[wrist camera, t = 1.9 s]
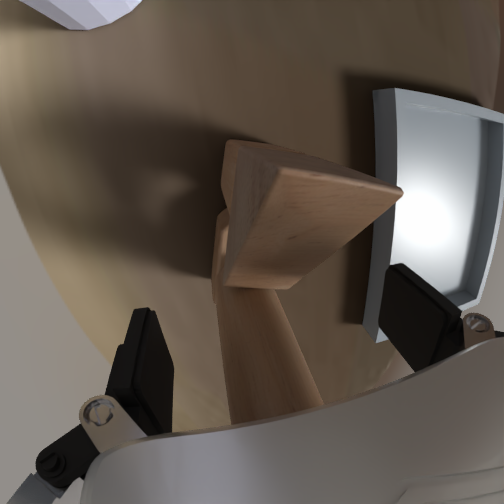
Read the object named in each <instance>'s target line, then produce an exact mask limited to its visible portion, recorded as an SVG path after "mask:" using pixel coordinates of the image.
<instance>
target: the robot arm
mask: <svg viewBox="0 0 504 504" xmlns="http://www.w3.org/2000/svg"><path fill="white" fill-rule="evenodd" d="M461 313H462V310H460V309H459V308H458V307H457V306H456V305H455V304H453V303H452V302H451V301H450V300H449V299H447V298H446V297H445V296H444V295H443V294H441V293H440V292H439V291H438V290H437V289H435V288H434V287H433V286H432V285H430V284H429V283H428V282H427V281H425V280H424V279H423V278H422V277H420V276H419V275H418V274H416V273H415V272H414V271H413V270H411V269H410V268H409V267H407V266H406V265H405V264H403V263H397V264H393V265H390V266H389V267H388V269H387V270H386V272H385V278H384V286H383V293H382V299H381V306H380V312H379V318H378V325H379V328H380V329H381V330H382V332H383V333H384V334H385V335H386V336H387V338H388V339H389V340H390V341H391V343H392V344H393V345H394V346H395V348H396V349H397V350H398V351H399V353H400V354H401V355H402V356H403V358H404V359H405V360H406V361H407V363H408V364H409V365H410V367H411V368H412V369H413V370H414V372H415V373H413V374H410V375H408V376H406V377H403V378H401V379H398V380H396V381H393V382H390V383H388V384H385V385H383V386H380V387H377V388H374V389H372V390H369V391H366V392H363V393H360V394H357V395H354V396H351V397H348V398H345V399H341V400H338V401H335V402H332V403H328V404H325V405H321V406H317V407H314V408H310V409H306V410H302V411H298V412H294V413H290V414H286V415H281V416H277V417H272V418H267V419H262V420H257V421H251V422H245V423H239V424H233V425H227V426H221V427H214V428H206V429H198V430H189V431H181V432H174V433H172V408H173V381H174V365H173V361H172V358H171V356H170V353H169V350H168V347H167V345H166V342H165V339H164V336H163V333H162V330H161V327H160V324H159V321H158V318H157V315H156V312H155V311H154V310H153V311H151V310H150V309H149V308H148V307H147V308H139V309H134V311H133V314H132V317H131V320H130V324H129V327H128V330H127V334H126V337H125V341H124V344H120V345H119V346H118V348H117V351H116V355H115V358H114V362H113V365H112V369H111V373H110V376H109V380H108V384H107V388H106V392H105V395H99V396H95V397H92V398H90V399H89V400H87V401H86V402H85V403H84V404H83V405H82V407H81V409H80V412H79V420H80V422H81V424H79V425H78V426H77V427H75V428H74V429H72V430H71V431H70V432H68V433H66V434H65V435H64V436H62V437H61V438H59V439H58V440H56V441H55V442H53V443H52V444H50V445H49V446H48V447H46V448H45V449H43V450H42V451H41V452H40V453H39V455H38V457H37V459H36V470H37V472H36V473H35V474H34V475H33V474H32V473H31V474H30V475H29V476H28V477H27V478H26V480H25V481H24V482H23V483H22V484H21V486H20V487H19V488H18V489H17V491H16V492H15V493H14V495H13V496H12V497H11V498H10V499H9V501H8V502H7V504H504V332H500V331H494V327H493V324H492V322H491V321H490V319H489V318H487V317H486V316H484V315H482V314H479V313H469V314H467V315H465V316H464V318H463V319H461V318H460V316H461Z"/></svg>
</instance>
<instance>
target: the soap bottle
mask: <svg viewBox="0 0 504 504" xmlns="http://www.w3.org/2000/svg"><path fill="white" fill-rule="evenodd" d="M19 1H21V2H23V3H25V4H27V5H28V6H30V7H32V8H34V9H35V10H37V11H39V12H40V13H42V14H44V15H46V16H47V17H49V18H51V19H52V20H54V21H55V22H57V23H59V24H61V25H62V26H64V27H66V28H68V29H69V30H90V29H93V28H96V27H100V26H103V25H106V24H110V23H112V22H114V21H115V20H117V19H119V18H120V17H122V16H124V15H125V14H127V13H129V12H131V11H132V10H133V9H134V8H135V7H136V6H137V5H138V4H139V3H140V2H141V1H142V0H19Z"/></svg>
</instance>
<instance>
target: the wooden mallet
mask: <svg viewBox="0 0 504 504" xmlns="http://www.w3.org/2000/svg"><path fill="white" fill-rule="evenodd" d="M221 189H222V192H223V195H224V199H225V202H226V205H227V208H226V209H224V210H223V211H222V212H221V213H220V214H219V215H218V217H217V222H216V232H215V242H214V253H213V264H212V276H211V282H212V294H213V301H214V303H215V304H216V306H217V316H218V325H219V334H220V343H221V351H222V360H223V368H224V375H225V383H226V391H227V398H228V405H229V412H230V419H231V425H233V424H239V423H245V422H251V421H257V420H262V419H267V418H272V417H277V416H281V415H286V414H290V413H294V412H298V411H302V410H306V409H310V408H314V407H317V406H321V405H324V404H323V401H322V399H321V396H320V394H319V392H318V389H317V387H316V385H315V382H314V380H313V378H312V375H311V373H310V371H309V368H308V366H307V364H306V361H305V359H304V357H303V354H302V352H301V350H300V347H299V345H298V343H297V341H296V338H295V336H294V334H293V331H292V329H291V327H290V324H289V322H288V320H287V317H286V315H285V313H284V310H283V308H282V306H281V303H280V301H279V299H278V297H277V294H276V292H275V290H274V289H288V288H290V287H291V286H292V285H294V284H295V283H296V282H298V281H299V280H300V279H302V278H303V277H304V276H305V275H307V274H308V273H309V272H311V271H312V270H313V269H315V268H316V267H317V266H318V265H320V264H321V263H322V262H324V261H325V260H326V259H327V258H329V257H330V256H331V255H332V254H334V253H335V252H336V251H337V250H339V249H340V248H341V247H342V246H344V245H345V244H346V243H347V242H349V241H350V240H351V239H352V238H354V237H355V236H356V235H357V234H358V233H360V232H361V231H362V230H363V229H365V228H366V227H367V226H368V225H369V224H371V223H372V222H373V221H374V220H375V219H377V218H378V217H379V216H380V215H381V214H383V213H384V212H385V211H386V210H387V209H388V208H390V207H391V206H392V205H393V204H394V203H396V202H397V201H398V200H399V199H400V198H401V197H402V196H403V194H404V192H403V190H402V189H401V188H400V187H398V186H395V185H393V184H390V183H388V182H385V181H383V180H380V179H378V178H375V177H372V176H370V175H367V174H364V173H361V172H359V171H356V170H353V169H350V168H347V167H344V166H341V165H339V164H336V163H333V162H329V161H326V160H323V159H320V158H317V157H314V156H309V155H306V154H305V153H302V152H298V151H295V150H291V149H288V148H284V147H281V146H277V145H273V144H266V143H259V142H251V141H243V140H234V139H231V140H227V142H226V144H225V152H224V160H223V168H222V176H221Z"/></svg>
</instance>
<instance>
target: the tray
mask: <svg viewBox="0 0 504 504" xmlns="http://www.w3.org/2000/svg"><path fill="white" fill-rule="evenodd" d="M373 103H374V120H375V152H376V178H378V179H380V180H383V181H385V182H388V183H390V184H393V185H395V186H398V187H400V188H401V189H402V190H403V192H404V194H403V196H402V197H401V198H400V199H399V200H398V201H397V202H396V203H394V204H393V205H392V206H391V207H390V208H388V209H387V210H386V211H385V212H384V213H383V214H381V215H380V216H379V217H378V218H377V219H375V220H374V228H373V242H372V254H371V264H370V274H369V282H368V290H367V298H366V305H365V312H364V318H363V326H364V328H365V329H366V331H367V332H368V333H369V335H370V336H371V337H372V339H373V340H374V342H375V343H378V342H381V341H384V340H387V339H388V338H387V336H386V335H385V334H384V333H383V332H382V330H381V329H380V328H379V325H378V318H379V312H380V306H381V299H382V293H383V286H384V278H385V272H386V270H387V269H388V267H389V266H390V265H393V264H397V263H403V264H405V265H406V266H407V267H409V268H410V269H411V270H413V271H414V272H415V273H416V274H418V275H419V276H420V277H422V278H423V279H424V280H425V281H427V282H428V283H429V284H430V285H432V286H433V287H434V288H435V289H437V290H438V291H439V292H440V293H441V294H443V295H444V296H445V297H446V298H447V299H449V300H450V301H451V302H452V303H453V304H455V305H456V306H457V307H458V308H459V309H460V310H462V311H463V310H466V309H468V308H470V307H472V306H475V305H477V304H479V301H480V298H481V295H482V292H483V289H484V286H485V283H486V279H487V276H488V272H489V268H490V265H491V261H492V257H493V253H494V248H495V244H496V239H497V234H498V230H499V224H500V219H501V212H502V206H503V199H504V114H502V113H498V112H496V111H493V110H490V109H486V108H483V107H480V106H476V105H473V104H469V103H466V102H462V101H458V100H454V99H450V98H446V97H441V96H437V95H432V94H427V93H422V92H417V91H411V90H405V89H398V88H389V89H380V90H373Z"/></svg>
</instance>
